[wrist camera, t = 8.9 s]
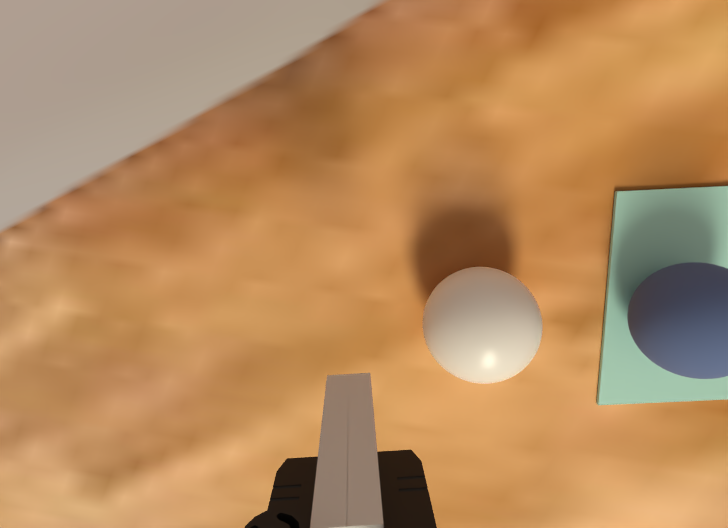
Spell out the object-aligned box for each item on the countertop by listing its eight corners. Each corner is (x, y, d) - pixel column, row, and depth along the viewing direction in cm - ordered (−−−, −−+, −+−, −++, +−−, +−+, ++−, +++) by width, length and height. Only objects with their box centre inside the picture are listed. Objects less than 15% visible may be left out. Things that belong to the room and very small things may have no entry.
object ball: (686, 410, 19) (795, 393, 20) (703, 286, 18) (819, 273, 18) (598, 354, 24) (687, 343, 25) (607, 256, 23) (700, 247, 24)
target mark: (596, 403, 25) (598, 405, 25) (614, 191, 22) (617, 191, 22) (807, 393, 25) (811, 395, 25) (853, 179, 22) (857, 179, 22)
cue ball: (551, 409, 18) (535, 354, 24) (550, 282, 17) (533, 253, 23) (419, 404, 20) (431, 352, 25) (411, 286, 19) (425, 258, 24)
